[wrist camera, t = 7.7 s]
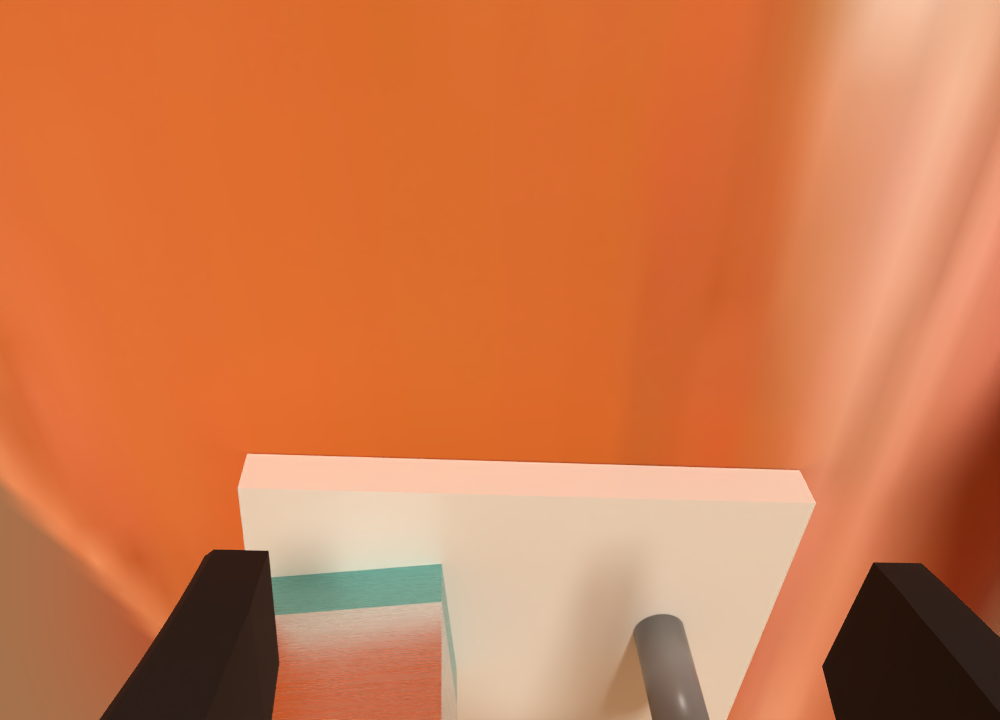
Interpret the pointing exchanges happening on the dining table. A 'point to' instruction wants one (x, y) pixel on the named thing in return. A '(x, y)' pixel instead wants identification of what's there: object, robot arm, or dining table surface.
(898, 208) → the dining table surface
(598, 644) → the pin board
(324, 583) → the teal banded block
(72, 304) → the dining table surface
